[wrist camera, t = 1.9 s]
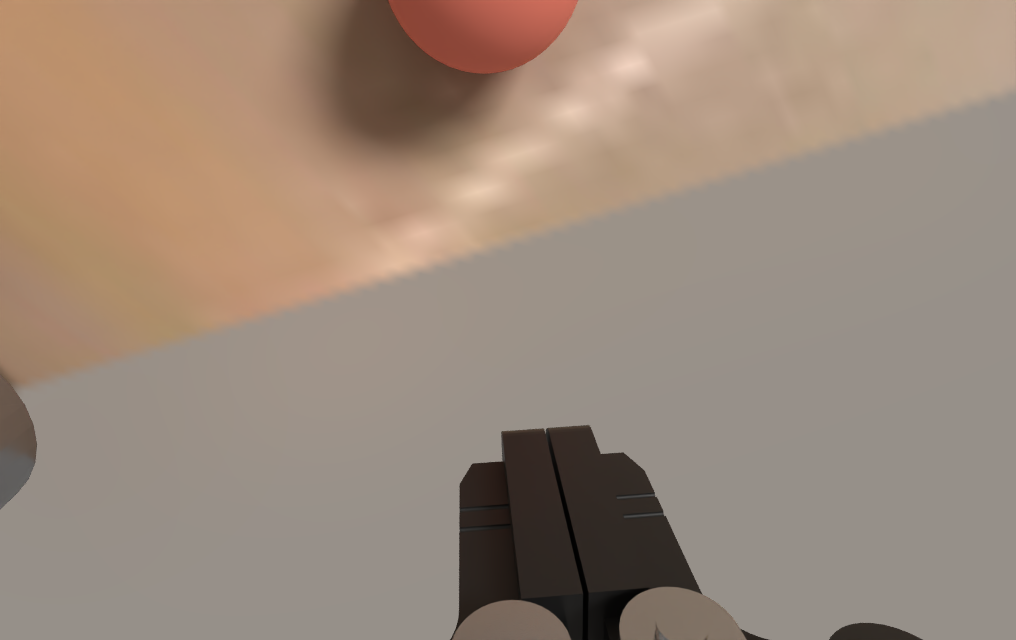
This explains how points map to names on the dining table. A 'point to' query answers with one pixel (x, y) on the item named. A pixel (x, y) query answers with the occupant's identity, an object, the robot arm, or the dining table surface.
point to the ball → (483, 30)
